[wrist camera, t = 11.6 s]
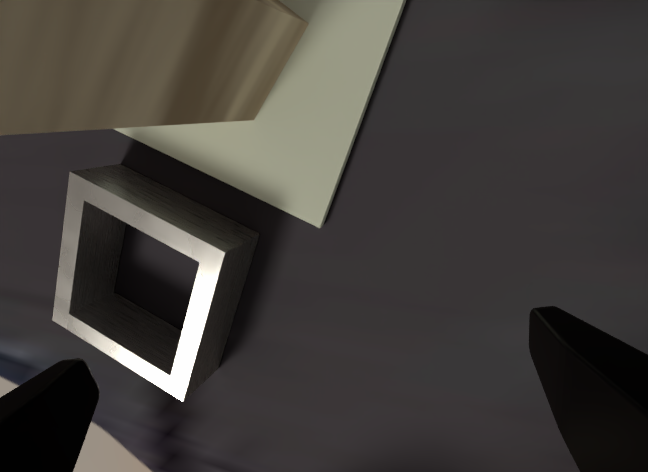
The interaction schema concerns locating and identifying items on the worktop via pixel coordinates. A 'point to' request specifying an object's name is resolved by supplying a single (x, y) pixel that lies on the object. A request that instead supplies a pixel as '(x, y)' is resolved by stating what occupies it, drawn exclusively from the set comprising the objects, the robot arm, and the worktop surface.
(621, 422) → the robot arm
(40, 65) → the block
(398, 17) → the mat
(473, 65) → the worktop surface
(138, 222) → the collar
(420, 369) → the worktop surface
